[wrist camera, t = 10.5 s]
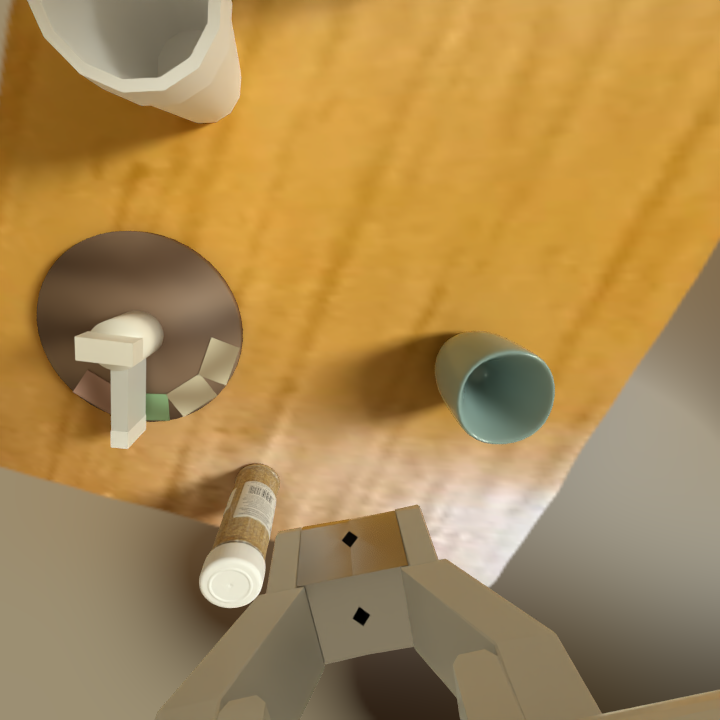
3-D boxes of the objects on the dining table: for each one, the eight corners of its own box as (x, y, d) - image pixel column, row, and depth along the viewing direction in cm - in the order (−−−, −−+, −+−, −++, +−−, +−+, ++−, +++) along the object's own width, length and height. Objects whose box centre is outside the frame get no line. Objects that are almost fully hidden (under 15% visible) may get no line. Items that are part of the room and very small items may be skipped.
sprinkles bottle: (226, 479, 43) (183, 584, 30) (260, 453, 42) (231, 548, 29) (257, 508, 44) (228, 621, 31) (290, 483, 43) (275, 587, 31)
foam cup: (150, 147, 34) (48, 96, 21) (124, 10, 31) (-11, -140, 19) (269, 140, 34) (236, 86, 22) (252, 4, 32) (205, -145, 19)
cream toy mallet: (115, 307, 36) (74, 321, 30) (164, 313, 36) (132, 328, 30) (116, 425, 39) (78, 459, 33) (161, 430, 39) (132, 464, 33)
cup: (425, 401, 42) (454, 449, 32) (425, 324, 40) (457, 353, 30) (501, 395, 42) (552, 442, 33) (505, 320, 40) (561, 346, 31)
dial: (17, 243, 35) (6, 244, 34) (221, 220, 36) (217, 219, 34) (79, 427, 40) (71, 433, 39) (258, 403, 41) (256, 409, 39)
